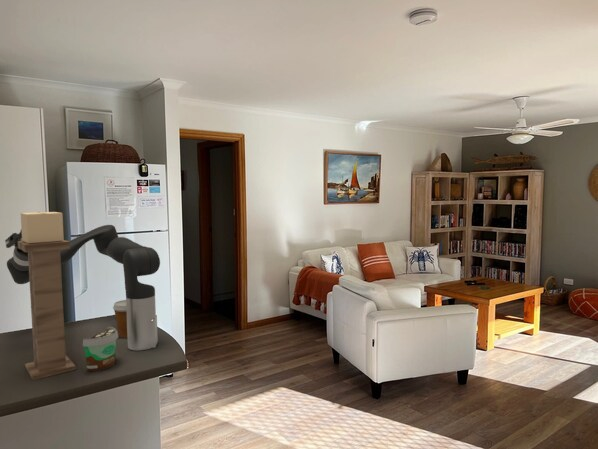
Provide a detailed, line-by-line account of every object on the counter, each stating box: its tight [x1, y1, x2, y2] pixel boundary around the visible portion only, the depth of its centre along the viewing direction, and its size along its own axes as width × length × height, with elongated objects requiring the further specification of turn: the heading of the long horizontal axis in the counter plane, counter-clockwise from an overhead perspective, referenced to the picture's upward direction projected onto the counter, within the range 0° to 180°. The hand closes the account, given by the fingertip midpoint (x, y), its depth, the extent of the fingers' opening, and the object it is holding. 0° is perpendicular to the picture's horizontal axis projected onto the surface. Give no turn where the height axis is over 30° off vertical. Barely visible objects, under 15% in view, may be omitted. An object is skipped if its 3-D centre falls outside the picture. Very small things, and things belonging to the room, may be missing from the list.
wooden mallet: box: [20, 211, 65, 243], centre depth 133 cm, size 22×9×8 cm, turn 41°
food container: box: [82, 326, 119, 372], centre depth 133 cm, size 12×6×10 cm, turn 168°
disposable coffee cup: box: [112, 299, 128, 339], centre depth 160 cm, size 10×10×12 cm
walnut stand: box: [18, 239, 77, 381], centre depth 130 cm, size 12×11×38 cm
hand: (34, 229), depth 138 cm, fingers closed on wooden mallet, 4 cm apart
